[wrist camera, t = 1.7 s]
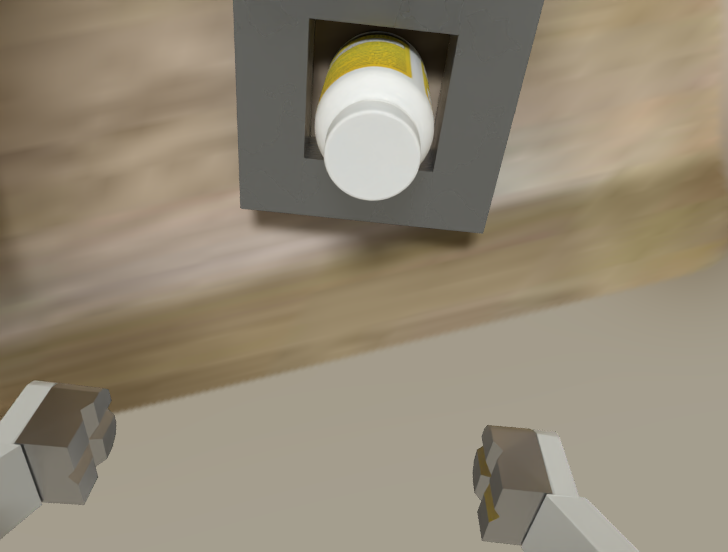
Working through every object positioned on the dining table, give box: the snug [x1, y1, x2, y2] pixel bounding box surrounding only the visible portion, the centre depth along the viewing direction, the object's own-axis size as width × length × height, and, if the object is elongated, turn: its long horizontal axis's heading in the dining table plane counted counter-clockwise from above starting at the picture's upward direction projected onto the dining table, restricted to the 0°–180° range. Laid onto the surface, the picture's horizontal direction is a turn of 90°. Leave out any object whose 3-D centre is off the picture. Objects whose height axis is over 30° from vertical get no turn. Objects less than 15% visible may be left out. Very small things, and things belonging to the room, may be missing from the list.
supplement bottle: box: [315, 31, 434, 201], centre depth 27 cm, size 5×5×10 cm
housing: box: [233, 0, 544, 233], centre depth 29 cm, size 14×14×3 cm
